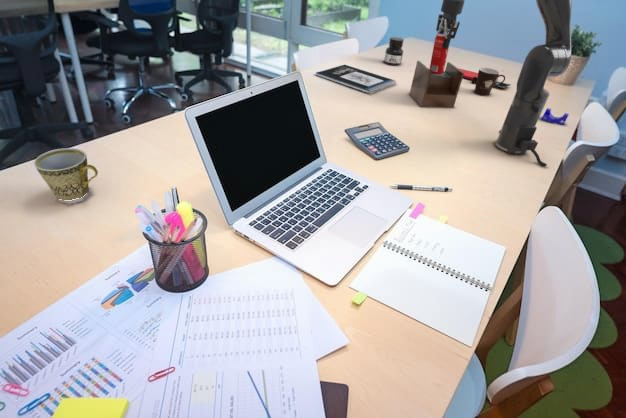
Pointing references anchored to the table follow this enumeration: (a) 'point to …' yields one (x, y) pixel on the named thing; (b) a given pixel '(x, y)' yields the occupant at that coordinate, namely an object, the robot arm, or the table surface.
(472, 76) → the red board with handle
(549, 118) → the cable holder
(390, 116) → the table surface
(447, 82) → the shelf
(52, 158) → the ceramic cup
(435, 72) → the beverage can
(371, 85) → the sketchbook
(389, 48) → the ink bottle
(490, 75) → the coffee mug
